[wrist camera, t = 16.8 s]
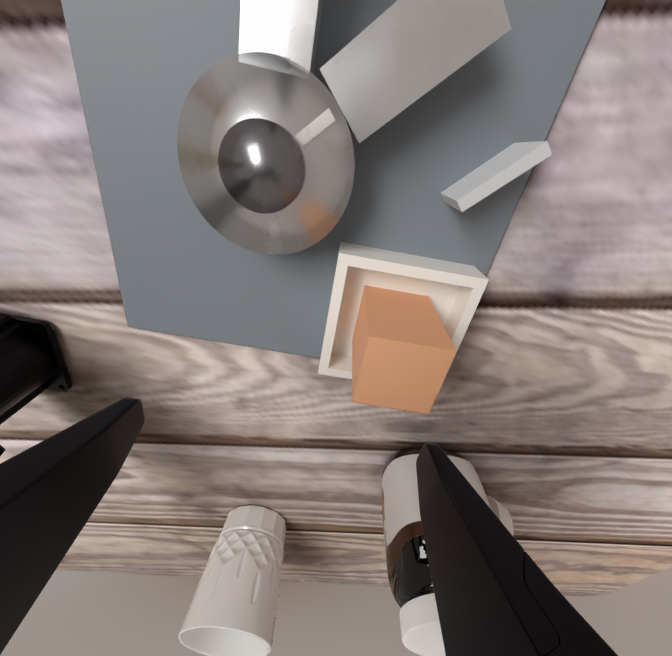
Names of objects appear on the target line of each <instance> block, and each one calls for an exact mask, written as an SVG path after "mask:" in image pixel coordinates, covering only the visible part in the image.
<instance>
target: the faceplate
mask: <svg viewBox="0 0 672 656" xmlns="http://www.w3.org/2000/svg"><path fill="white" fill-rule="evenodd" d="M396 1H397V0H323V6H322V13H321V21H320V29H319V36H318V44H317V52H316V59H315V67H314V75H315V76H316V77H317V78H318V79H319V80H320V81H321V82H322V83H323V84H324V85H325V87H326V88H327V89H328V90H329V92H330V93H331V91H330V89H329V87H328V85H327V84H326V82H325V80H324V78H323V76H322V74H321V71H320V68H321V67H322V66H323V65H325V64H326V63H327V62H328V61H329V60H330V59H331V58H333V57H334V56H335V55H336V54H337V53H338V52H339V51H341V50H342V49H343V48H344V47H345V46H346V45H347V44H348V43H350V42H351V41H352V40H353V39H354V38H355V37H356V36H358V35H359V34H360V33H361V32H362V31H363V30H364V29H366V28H367V27H368V26H369V25H370V24H371V23H372V22H373V21H375V20H376V19H377V18H378V17H379V16H380V15H381V14H383V13H384V12H385V11H386V10H387V9H388V8H389V7H390V6H392V5H393V4H394V3H395V2H396ZM503 1H504V4H505V8H506V11H507V15H508V18H509V22H510V25H511V28H512V29H511V30H509V31H508V32H507V33H506V34H504V35H503V36H502V37H500V38H499V39H498V40H496V41H495V42H494V43H492V44H491V45H490V46H488V47H487V48H486V49H484V50H483V51H482V52H480V53H479V54H478V55H476V56H475V57H474V58H472V59H471V60H470V61H468V62H467V63H466V64H464V65H463V66H462V67H460V68H459V69H458V70H456V71H455V72H454V73H452V74H451V75H450V76H448V77H447V78H446V79H444V80H443V81H442V82H440V83H439V84H438V85H436V86H435V87H434V88H433V89H431V90H430V91H429V92H427V93H426V94H425V95H423V96H422V97H421V98H419V99H418V100H417V101H415V102H414V103H413V104H411V105H410V106H409V107H407V108H406V109H405V110H403V111H402V112H401V113H399V114H398V115H397V116H395V117H394V118H393V119H391V120H390V121H389V122H387V123H386V124H385V125H383V126H382V127H381V128H379V129H378V130H377V131H375V132H374V133H373V134H371V135H370V136H369V137H367V138H366V139H365V140H363V141H362V142H361V143H358V141H357V140H356V138H355V136H354V134H353V132H352V130H351V128H350V126H349V125H348V128H349V131H350V134H351V138H352V143H353V148H354V159H355V171H354V181H353V188H352V191H351V195H350V199H349V201H348V204H347V206H346V209H345V211H344V213H343V214H342V216H341V218H340V220H339V221H338V222H337V224H336V225H335V226H334V228H333V229H332V230H331V231H330V232H329V233H328V234H327V235H326V236H325V237H324V238H323V239H321V240H320V241H319V242H317V243H316V244H314V245H312V246H310V247H309V248H306V249H304V250H301V251H299V252H295V253H291V254H284V255H268V254H261V253H257V252H253V251H249V250H247V249H245V248H242V247H240V246H238V245H236V244H234V243H233V242H231V241H229V240H228V239H226V238H225V237H224V236H222V235H221V234H220V233H219V232H217V231H216V230H215V229H214V228H213V227H212V226H211V225H210V224H209V223H208V222H207V221H206V220H205V218H204V217H203V216H202V214H201V213H200V212H199V210H198V209H197V207H196V206H195V204H194V202H193V201H192V199H191V197H190V195H189V193H188V190H187V188H186V186H185V183H184V180H183V177H182V174H181V170H180V165H179V161H178V152H177V131H178V123H179V118H180V114H181V111H182V107H183V105H184V102H185V100H186V97H187V95H188V94H189V92H190V90H191V88H192V87H193V85H194V84H195V82H196V81H197V80H198V79H199V78H200V76H201V75H202V74H203V73H204V72H205V71H207V70H208V69H209V68H210V67H211V66H212V65H214V64H216V63H217V62H219V61H221V60H222V59H225V58H227V57H230V56H233V55H235V54H239V36H240V6H241V0H61V3H62V7H63V12H64V17H65V22H66V27H67V32H68V37H69V42H70V46H71V51H72V56H73V61H74V66H75V71H76V76H77V81H78V85H79V90H80V95H81V100H82V105H83V110H84V115H85V120H86V125H87V129H88V134H89V139H90V144H91V149H92V154H93V159H94V164H95V168H96V173H97V178H98V183H99V188H100V193H101V198H102V203H103V207H104V212H105V217H106V222H107V227H108V232H109V237H110V242H111V247H112V251H113V256H114V261H115V266H116V271H117V276H118V281H119V286H120V290H121V295H122V300H123V305H124V310H125V315H126V320H127V325H128V327H133V328H139V329H145V330H151V331H157V332H163V333H169V334H175V335H181V336H188V337H194V338H200V339H206V340H212V341H218V342H224V343H230V344H236V345H243V346H249V347H255V348H261V349H267V350H273V351H279V352H285V353H291V354H297V355H304V356H310V357H316V358H321V351H322V346H323V340H324V334H325V328H326V323H327V317H328V311H329V305H330V299H331V294H332V288H333V282H334V276H335V271H336V265H337V259H338V253H339V247H340V242H344V243H350V244H355V245H361V246H366V247H372V248H377V249H383V250H388V251H394V252H400V253H405V254H411V255H416V256H422V257H427V258H433V259H438V260H444V261H449V262H455V263H461V264H466V265H472V266H475V267H476V268H477V269H478V270H479V271H480V272H481V273H482V274H483V275H484V276H486V274H487V272H488V269H489V267H490V265H491V262H492V260H493V258H494V255H495V253H496V251H497V249H498V246H499V244H500V242H501V239H502V237H503V235H504V233H505V230H506V228H507V226H508V223H509V221H510V219H511V216H512V214H513V212H514V210H515V207H516V205H517V203H518V200H519V198H520V196H521V193H522V191H523V189H524V187H525V184H526V182H527V180H528V177H529V175H530V173H531V171H532V168H533V166H535V165H537V164H538V163H540V162H541V161H543V160H544V159H546V158H547V157H549V156H551V155H552V153H551V150H550V147H549V144H548V141H545V138H546V136H547V134H548V132H549V129H550V127H551V125H552V122H553V120H554V118H555V115H556V113H557V111H558V109H559V106H560V104H561V102H562V99H563V97H564V95H565V93H566V90H567V88H568V86H569V83H570V81H571V79H572V76H573V74H574V72H575V70H576V67H577V65H578V63H579V60H580V58H581V56H582V54H583V51H584V49H585V47H586V44H587V42H588V40H589V37H590V35H591V33H592V31H593V28H594V26H595V24H596V21H597V19H598V17H599V15H600V12H601V10H602V8H603V5H604V3H605V1H606V0H503ZM331 94H332V93H331ZM347 124H348V123H347Z"/></svg>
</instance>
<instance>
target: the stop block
mask: <svg viewBox="0 0 672 656" xmlns="http://www.w3.org/2000/svg"><path fill="white" fill-rule="evenodd" d="M455 353H456V349H455V347H454V345H453V343H452V341H451V339H450V337H449V336H448V334H447V332H446V330H445V328H444V326H443V324H442V322H441V320H440V318H439V316H438V314H437V312H436V310H435V308H434V307H433V305H432V303H431V301H430V299H429V297H428V296H424V295H418V294H413V293H407V292H401V291H395V290H390V289H384V288H378V287H372V286H367V285H365V286H364V290H363V295H362V299H361V303H360V308H359V312H358V317H357V321H356V325H355V330H354V334H353V339H352V402H355V403H361V404H367V405H374V406H380V407H387V408H393V409H399V410H406V411H412V412H418V413H425V414H429V412H430V410H431V407H432V405H433V403H434V401H435V398H436V396H437V394H438V392H439V389H440V387H441V385H442V382H443V380H444V378H445V376H446V373H447V371H448V369H449V367H450V364H451V362H452V360H453V358H454V355H455Z"/></svg>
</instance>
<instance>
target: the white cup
mask: <svg viewBox="0 0 672 656" xmlns="http://www.w3.org/2000/svg"><path fill="white" fill-rule="evenodd" d="M285 535H286V523H285V520H284V518H283V517H281V516H280V515H279V514H278V513H277V512H275V511H273V510H271V509H268V508H266V507H261V506H254V505H247V506H239V507H237V508H235V509H233V510H231V511H230V512H229V514H228V516H227V518H226V521H225V523H224V526H223V529H222V531H221V534H220V535H219V538H218V539H217V541H216V543H215V545H214V548H213V551H212V553H211V555H210V557H209V560H208V562H207V565H206V568H205V570H204V572H203V574H202V576H201V579H200V582H199V584H198V587H197V589H196V592H195V595H194V597H193V600H192V602H191V605H190V607H189V610H188V612H187V615H186V617H185V620H184V622H183V625H182V627H181V630H180V632H179V635H178V639H179V641H180V642H181V643H182V644H183V645H184V646H186V647H187V648H189V649H191V650H193V651H195V652H198V653H200V654H204V655H207V656H266V655H268V654H269V653H270V652H271V649H272V642H273V634H274V626H275V619H276V611H277V604H278V597H279V589H280V581H281V569H282V564H283V548H284V542H285Z"/></svg>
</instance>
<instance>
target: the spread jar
mask: <svg viewBox="0 0 672 656" xmlns="http://www.w3.org/2000/svg"><path fill="white" fill-rule="evenodd" d="M421 449H422V447H417V448H411V449H408V450H404V451H401V452H399V453H397V454H395V455H393V456H392V457H391V458H390V459H389V460H388V461H387V463H386V465H385V467H384V470H383V474H382V485H381V491H382V514H383V526H384V538H385V551H386V563H387V572H388V578H389V584H390V588H391V591H392V594H393V596H394V598H395V600H396V602H397V603H398V605H399V606H400V607H401V609H400V614H399V615H400V625H401V636H402V642H403V644H404V646H405V647H406V648H407V649H409V650H410V651H412V652H414V653H416V654H419V655H422V656H446V654H445V649H444V643H443V638H442V632H441V627H440V621H439V616H438V610H437V605H436V600H435V594H434V589H433V583H432V578H431V572H430V567H429V561H428V556H427V550H426V545H425V539H424V534H423V529H422V523H421V517H420V509H419V497H418V484H417V471H416V460H417V457H418V455H419V453H420V451H421ZM442 450H443V449H442ZM443 451H444V452H445V454H446V455H447V456H448V457H449V458H450V460H451V461H452V462H453V463H454V465H455V466H456V467H457V468H458V470H459V471H460V472H461V473H462V474H463V476H464V477H465V478H466V479H467V481H468V482H469V483H470V484H471V485H472V487H473V488H474V489H475V490H476V492H477V493H478V494H479V495H480V496H481V498H482V499H483V500H484V501H485V503H486V504H487V505H488V506H489V507H490V509H491V510H492V511H493V512H494V514H495V515H496V516H497V517H498V518H499V520H500V521H501V522H502V523H503V525H504V526H505V527H506V528H507V529H508V531H509V532H510V533H511V534H512V536H513V534H514V531H513V522H512V518H511V515H510V513H509V511H508V510H507V508H506V507H505V506H503V505H502V504H501V503H499V502H498V501H496V500H495V499H494V498H492V497H491V496H489V495H486V494H485V492H484V489H483V486H482V484H481V482H480V479H479V477H478V475H477V473H476V471H475V469H474V467H473V466H472V464H471V463H470V462H469V461H468V460H467V459H465V458H464V457H462V456H460V455H458V454H456V453H453V452H450V451H447V450H443Z"/></svg>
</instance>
